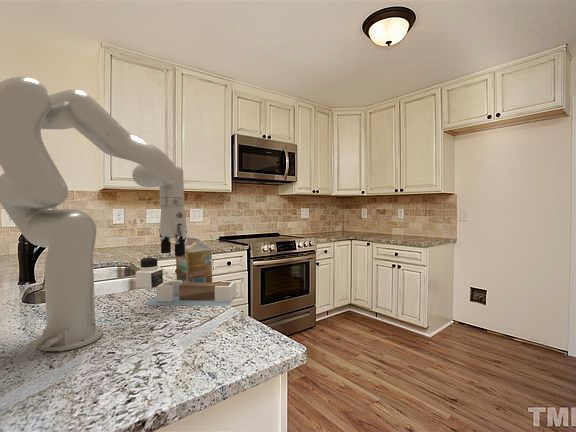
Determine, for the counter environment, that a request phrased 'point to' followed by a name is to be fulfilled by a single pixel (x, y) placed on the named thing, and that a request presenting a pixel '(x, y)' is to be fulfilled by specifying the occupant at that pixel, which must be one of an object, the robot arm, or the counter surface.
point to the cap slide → (168, 290)
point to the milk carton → (195, 262)
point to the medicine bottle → (149, 274)
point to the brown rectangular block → (198, 290)
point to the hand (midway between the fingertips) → (172, 254)
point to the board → (190, 302)
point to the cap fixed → (225, 292)
